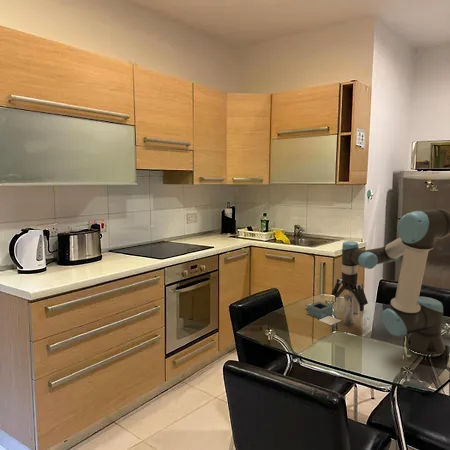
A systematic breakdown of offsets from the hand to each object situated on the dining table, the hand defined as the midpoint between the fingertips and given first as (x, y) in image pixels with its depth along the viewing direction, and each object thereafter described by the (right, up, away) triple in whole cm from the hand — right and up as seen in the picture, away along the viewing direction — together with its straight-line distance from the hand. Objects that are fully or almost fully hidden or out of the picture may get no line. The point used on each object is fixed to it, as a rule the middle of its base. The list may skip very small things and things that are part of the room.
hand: (348, 312), depth 207 cm
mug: (+8, -2, +18) cm, 19 cm away
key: (0, -6, +1) cm, 6 cm away
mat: (-9, -5, +4) cm, 11 cm away
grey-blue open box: (-13, -3, +15) cm, 20 cm away
